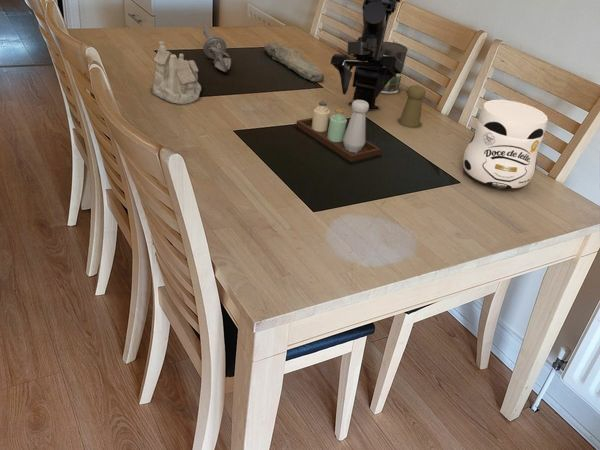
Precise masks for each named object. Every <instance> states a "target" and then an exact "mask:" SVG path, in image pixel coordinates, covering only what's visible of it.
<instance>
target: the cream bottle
mask: <svg viewBox="0 0 600 450" xmlns="http://www.w3.org/2000/svg"><path fill="white" fill-rule="evenodd" d="M327 105H328V102H326V101H319V102H318V106H316V107H315V108H313V112H312V118H313V119H312V127H311V128H312V129H313V130H315V131H318V132H324V131H327V128H328V122H329V118H330V113H331V111H330V110H329V108H328V107H327Z"/></svg>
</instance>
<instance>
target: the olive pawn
mask: <svg viewBox="0 0 600 450" xmlns="http://www.w3.org/2000/svg"><path fill="white" fill-rule="evenodd" d="M406 91H407V92H406V95H407V99H406V101H405V104H404V107H403V110H402V112H401V116H400V118H399V123H400V124H401V125H403V126H406V127H409V128H411V127H412V128H417V127H419V126H420V124H421V116H422V106H423V105H422V104H423V100H424V98H425V96H426V89H425V88H424V87H423V86H420V85H413V84H412V85H410V86H409V87H408V88H407V90H406Z"/></svg>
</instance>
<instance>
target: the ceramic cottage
mask: <svg viewBox="0 0 600 450" xmlns="http://www.w3.org/2000/svg"><path fill="white" fill-rule="evenodd" d="M158 45H159V46H158V47H157V48H158V49H157V53H156V55H155V56H154V57H153V62H154V64H155V65H154V67H155V68H154V69H155V71H154V72H153V74H154V76H153V78H154V80H153V84H152V89H151V92H152V94H154V95H155V96H156V97H159V98H161V99H163V100H164V101H166V102H169V103H172V104H178V105H185V104H190V103H194V102H196V101H197V100H199V97H200V94H201V91H202V86H201V84H200V83H199V81H198V80H199V73H198V72H199V68H198V67H197V64H196V62H195V61H194V60H193V59H191V60H187V59H184V57H185V56H184V53H179V55H178V57H177V55H176V54H174V53H171V51H169V50H167V49H166V46H165V45H164V41H163V40H161V41H159V42H158Z"/></svg>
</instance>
